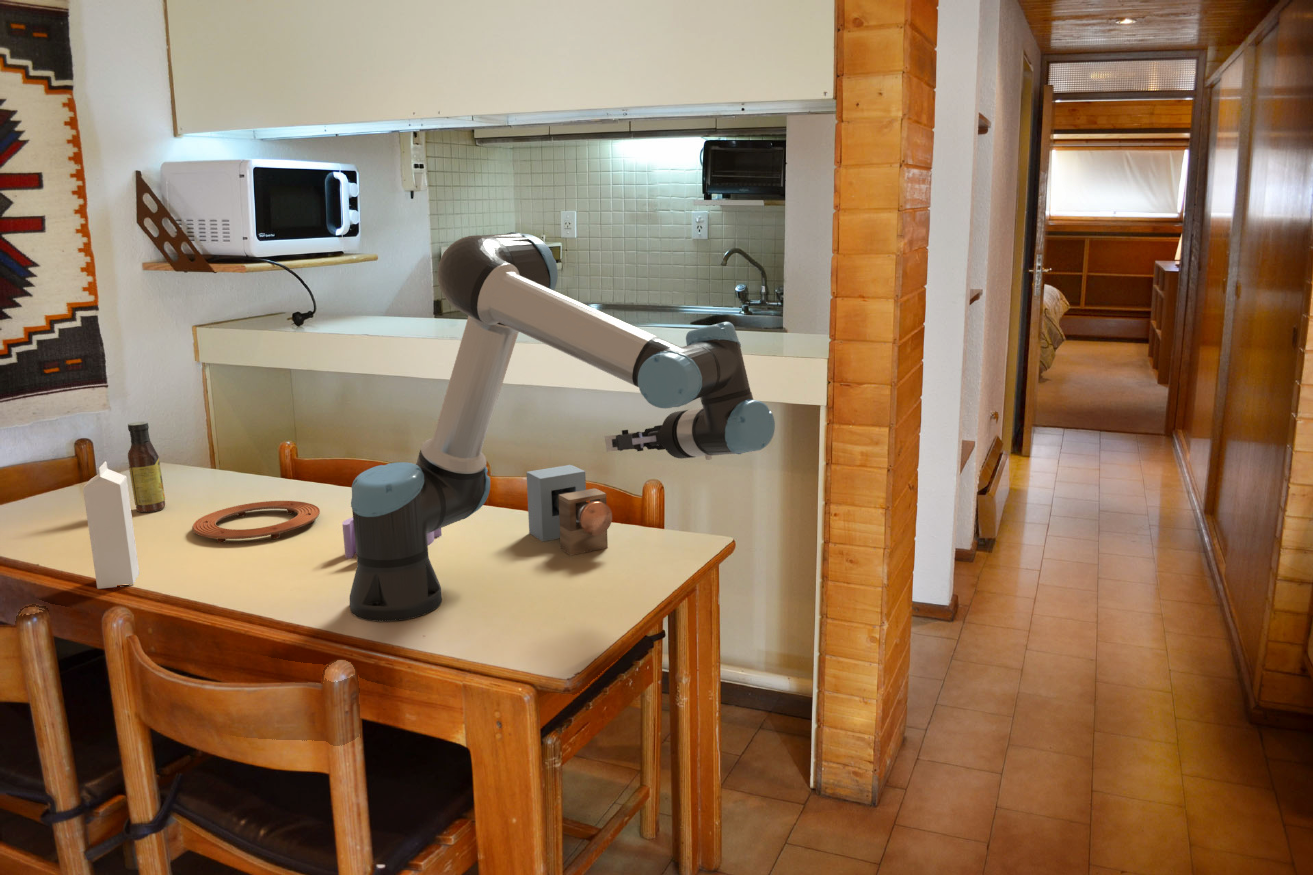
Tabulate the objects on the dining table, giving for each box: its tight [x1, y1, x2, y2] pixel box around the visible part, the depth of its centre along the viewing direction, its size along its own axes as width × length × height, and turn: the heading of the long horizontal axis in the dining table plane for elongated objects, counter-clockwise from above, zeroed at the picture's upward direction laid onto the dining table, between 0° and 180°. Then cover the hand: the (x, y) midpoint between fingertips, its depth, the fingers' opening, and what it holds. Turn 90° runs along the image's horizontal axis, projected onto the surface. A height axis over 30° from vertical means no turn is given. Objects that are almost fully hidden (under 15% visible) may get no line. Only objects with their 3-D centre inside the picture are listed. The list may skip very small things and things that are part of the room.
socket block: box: [526, 464, 587, 542], centre depth 211 cm, size 10×6×13 cm, turn 121°
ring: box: [191, 500, 321, 544], centre depth 220 cm, size 25×25×2 cm
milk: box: [82, 460, 140, 590], centre depth 187 cm, size 6×6×22 cm
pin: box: [551, 489, 613, 535], centre depth 204 cm, size 6×18×6 cm, turn 31°
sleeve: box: [559, 488, 609, 556], centre depth 202 cm, size 8×4×11 cm, turn 121°
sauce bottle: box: [127, 421, 166, 513], centre depth 232 cm, size 7×6×20 cm
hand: (609, 443), depth 181 cm, fingers closed
